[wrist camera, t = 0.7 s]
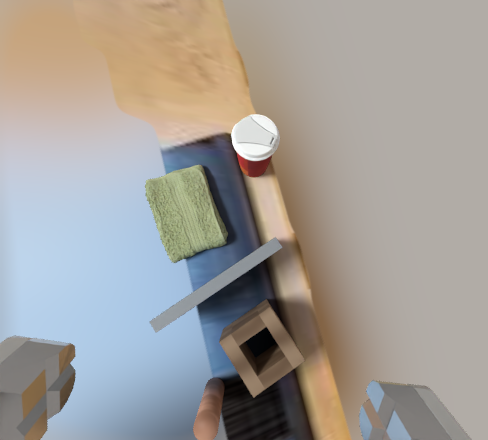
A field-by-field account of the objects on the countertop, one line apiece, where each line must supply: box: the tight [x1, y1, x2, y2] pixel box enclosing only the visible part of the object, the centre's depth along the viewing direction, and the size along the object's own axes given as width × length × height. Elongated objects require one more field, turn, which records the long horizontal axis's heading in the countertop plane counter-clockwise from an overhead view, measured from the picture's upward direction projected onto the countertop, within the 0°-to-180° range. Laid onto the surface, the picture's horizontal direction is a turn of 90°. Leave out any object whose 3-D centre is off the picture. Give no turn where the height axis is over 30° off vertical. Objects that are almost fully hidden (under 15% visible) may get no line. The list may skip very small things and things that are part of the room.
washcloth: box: [145, 165, 228, 263], centre depth 53 cm, size 13×18×3 cm
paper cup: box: [231, 114, 280, 177], centre depth 49 cm, size 8×8×14 cm
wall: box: [150, 237, 283, 332], centre depth 48 cm, size 2×24×10 cm, turn 124°
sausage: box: [193, 378, 225, 440], centre depth 44 cm, size 4×4×12 cm
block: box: [219, 299, 305, 398], centre depth 47 cm, size 10×10×8 cm
